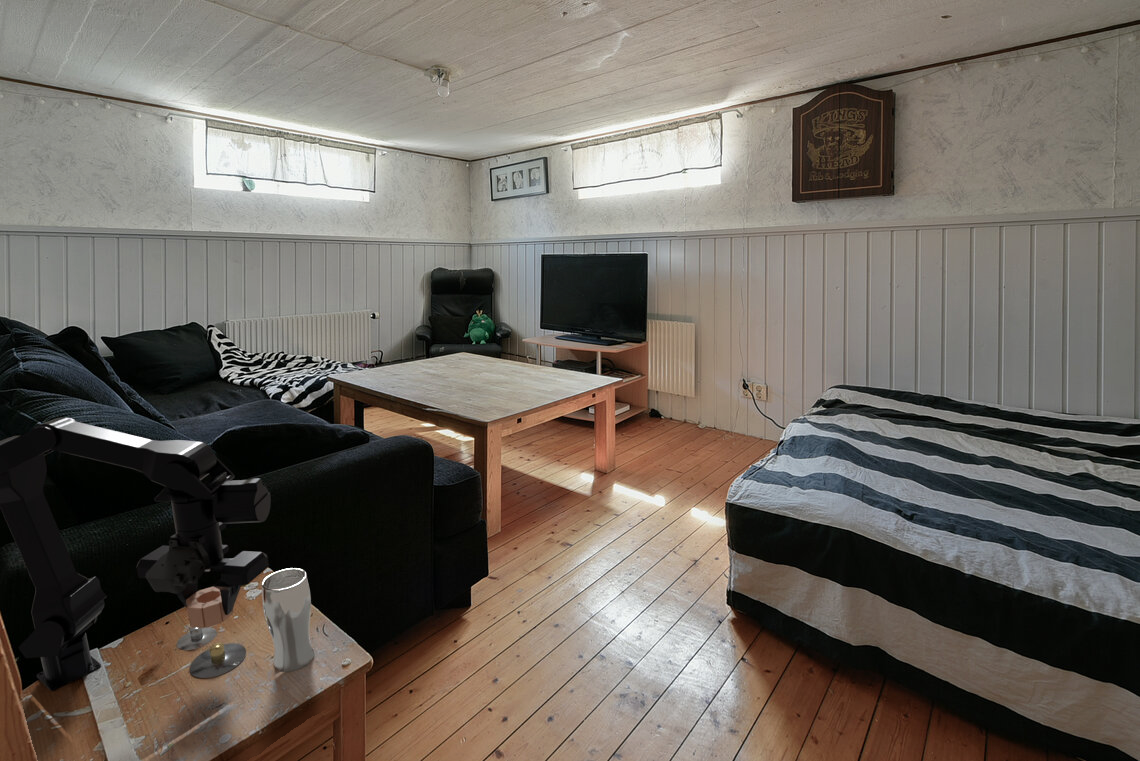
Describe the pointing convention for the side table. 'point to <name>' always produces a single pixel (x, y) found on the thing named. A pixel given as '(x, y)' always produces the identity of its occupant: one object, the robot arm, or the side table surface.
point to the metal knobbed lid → (196, 638)
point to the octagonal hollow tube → (206, 608)
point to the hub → (217, 660)
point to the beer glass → (288, 617)
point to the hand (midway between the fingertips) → (210, 612)
